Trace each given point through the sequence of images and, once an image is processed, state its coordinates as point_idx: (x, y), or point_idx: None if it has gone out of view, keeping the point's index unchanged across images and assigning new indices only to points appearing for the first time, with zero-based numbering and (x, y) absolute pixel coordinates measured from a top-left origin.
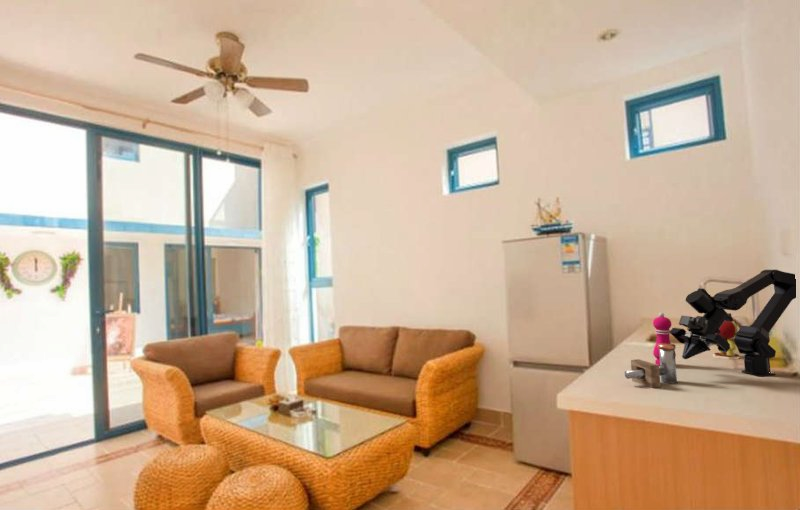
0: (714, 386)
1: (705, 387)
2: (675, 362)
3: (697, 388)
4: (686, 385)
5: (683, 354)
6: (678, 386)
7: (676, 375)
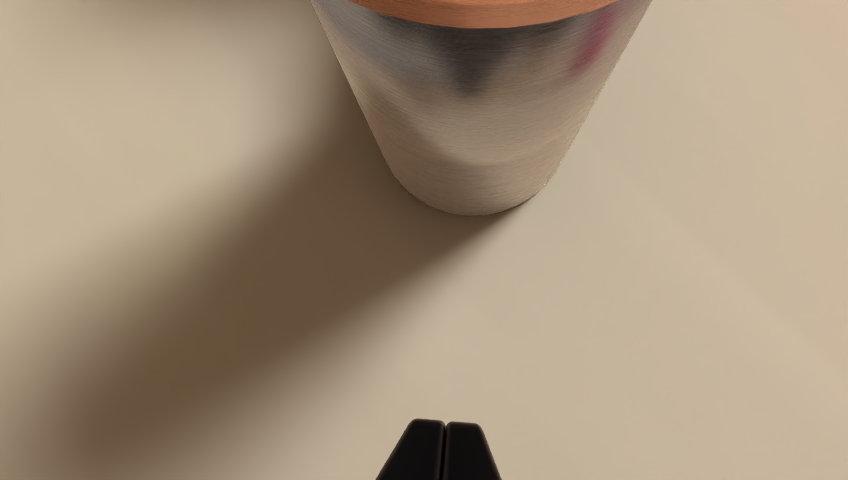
0: (62, 458)
1: (78, 313)
2: (352, 82)
3: (89, 186)
4: (244, 177)
5: (465, 475)
6: (250, 52)
7: (383, 152)
